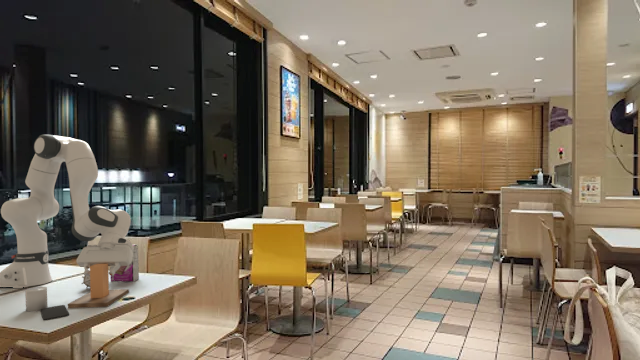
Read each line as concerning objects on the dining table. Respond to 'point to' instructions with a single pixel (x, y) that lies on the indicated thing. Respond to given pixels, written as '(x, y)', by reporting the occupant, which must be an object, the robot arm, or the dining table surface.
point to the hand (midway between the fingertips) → (98, 274)
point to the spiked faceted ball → (86, 281)
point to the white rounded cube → (36, 299)
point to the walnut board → (98, 299)
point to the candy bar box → (128, 269)
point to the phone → (54, 312)
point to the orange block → (99, 280)
